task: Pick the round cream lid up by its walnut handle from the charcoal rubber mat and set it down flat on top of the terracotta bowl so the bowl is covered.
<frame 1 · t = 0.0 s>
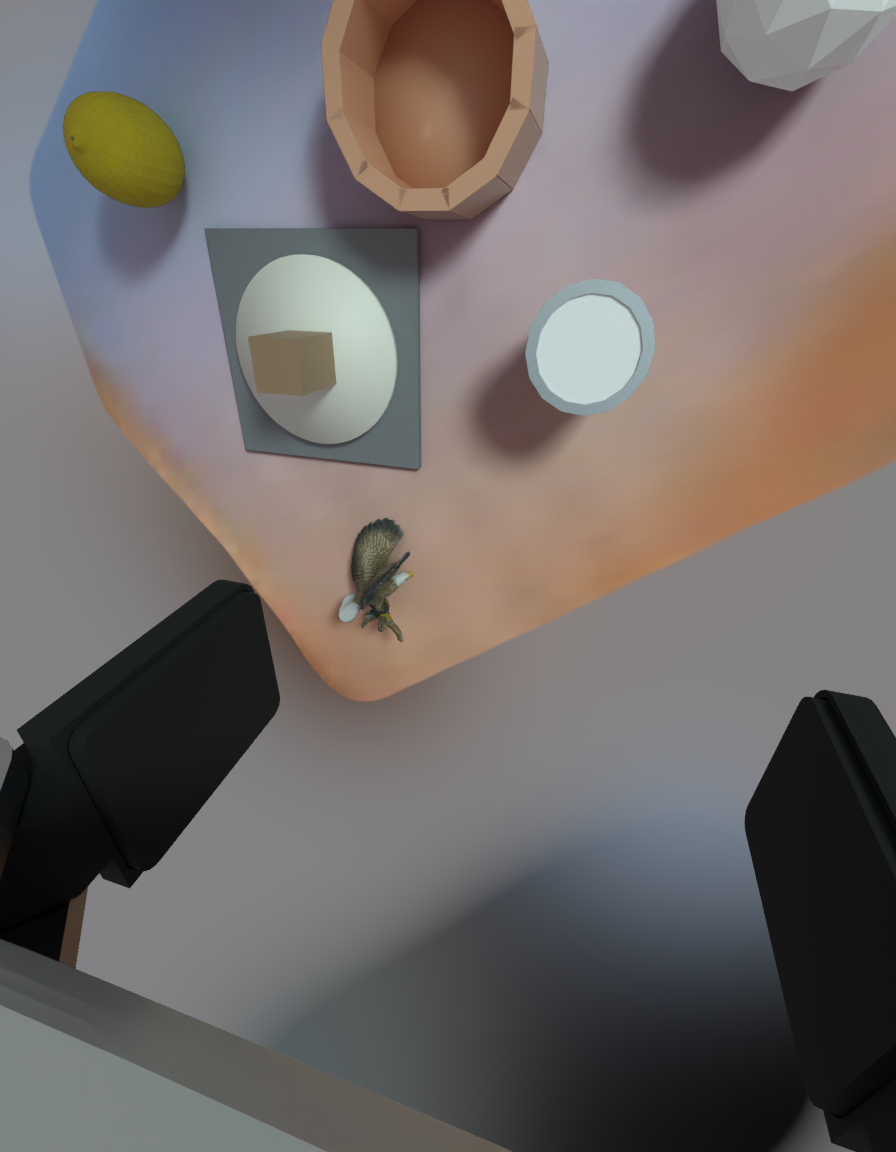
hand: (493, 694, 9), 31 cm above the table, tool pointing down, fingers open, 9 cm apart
eagle figurine: (392, 565, 47), on the table
bowl: (450, 104, 30), on the table
lid: (318, 355, 39), resting on mat
shot glass: (593, 338, 34), on the table
lemon: (177, 165, 36), on the table
geometric ball: (793, 2, 24), on the table
mat: (321, 355, 39), on the table
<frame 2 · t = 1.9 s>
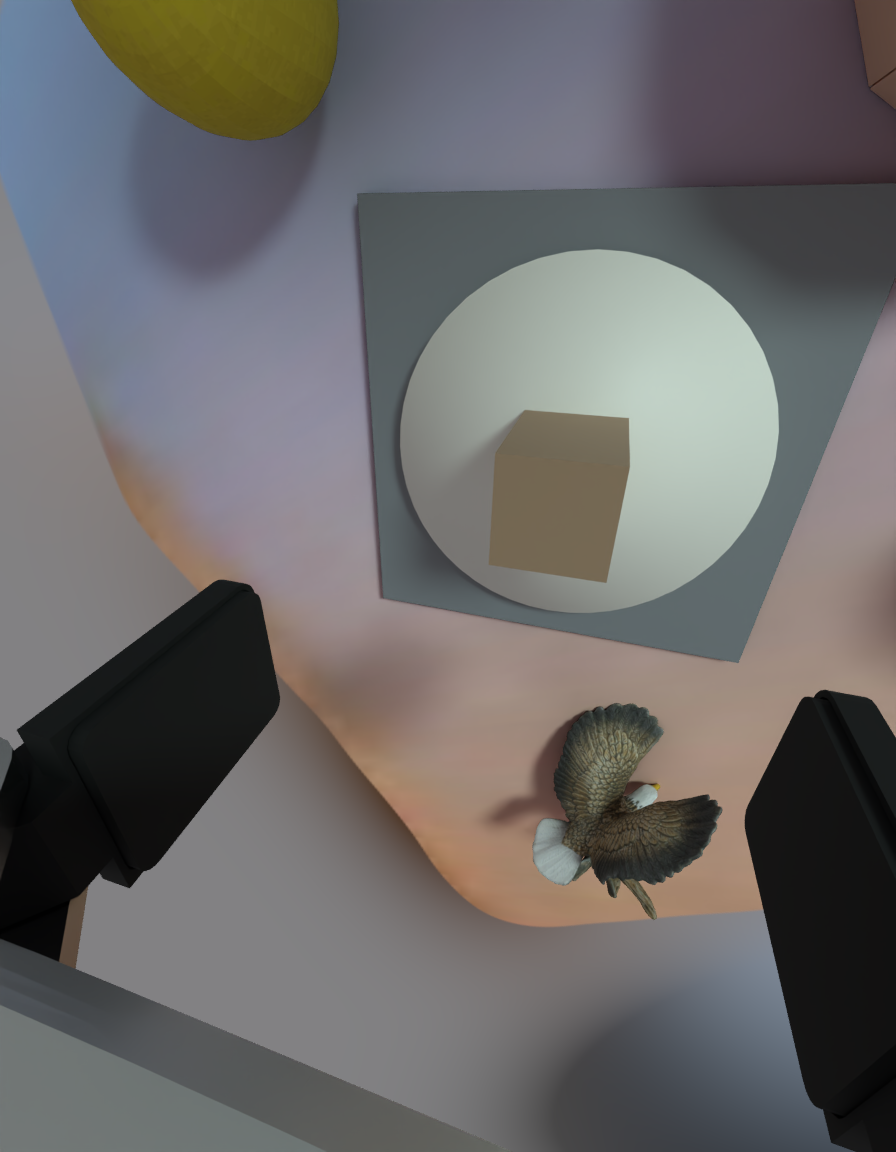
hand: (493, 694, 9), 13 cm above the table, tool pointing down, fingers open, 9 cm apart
eagle figurine: (619, 766, 27), on the table
lid: (570, 456, 19), resting on mat
lemon: (302, 49, 16), on the table
mat: (571, 452, 19), on the table
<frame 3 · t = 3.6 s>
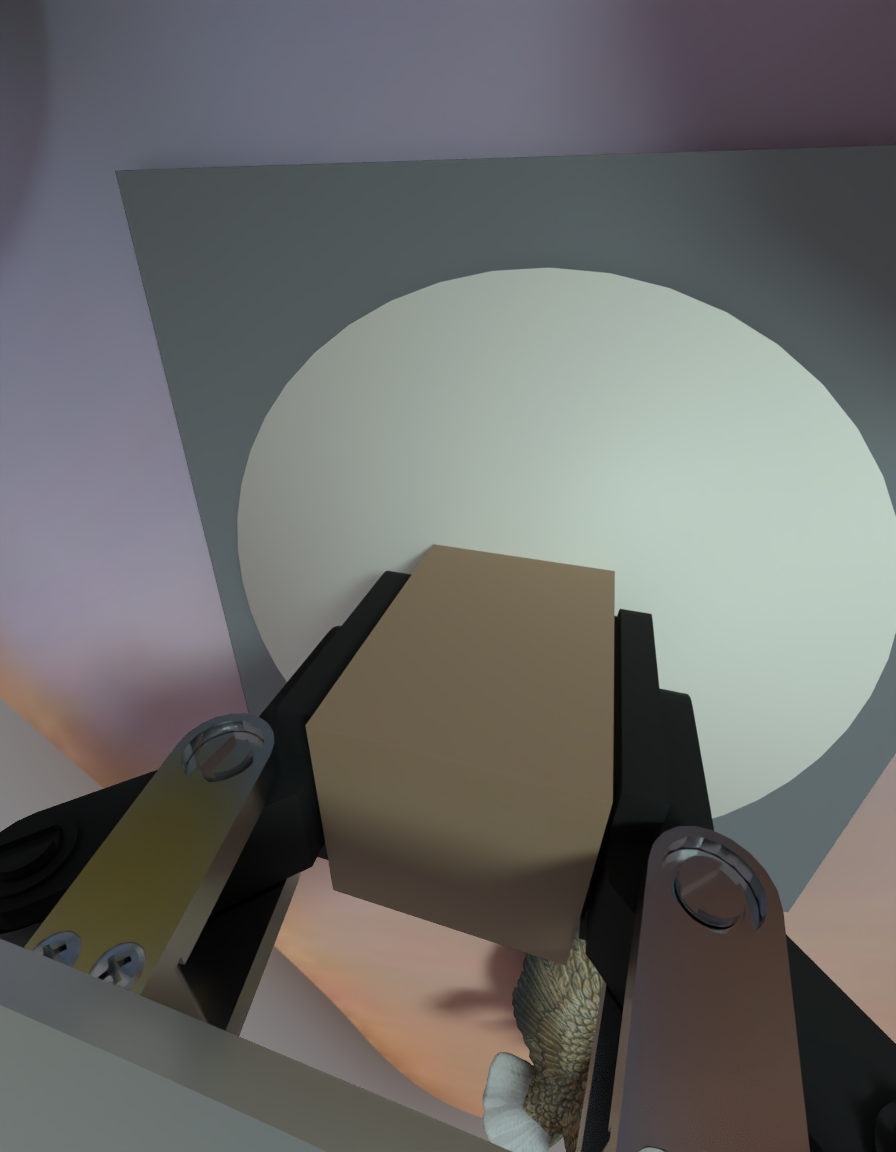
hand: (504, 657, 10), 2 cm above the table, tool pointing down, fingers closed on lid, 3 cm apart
eagle figurine: (607, 973, 19), on the table
lid: (518, 610, 11), point 1 cm above the table, touching gripper, mat
mat: (520, 601, 12), on the table
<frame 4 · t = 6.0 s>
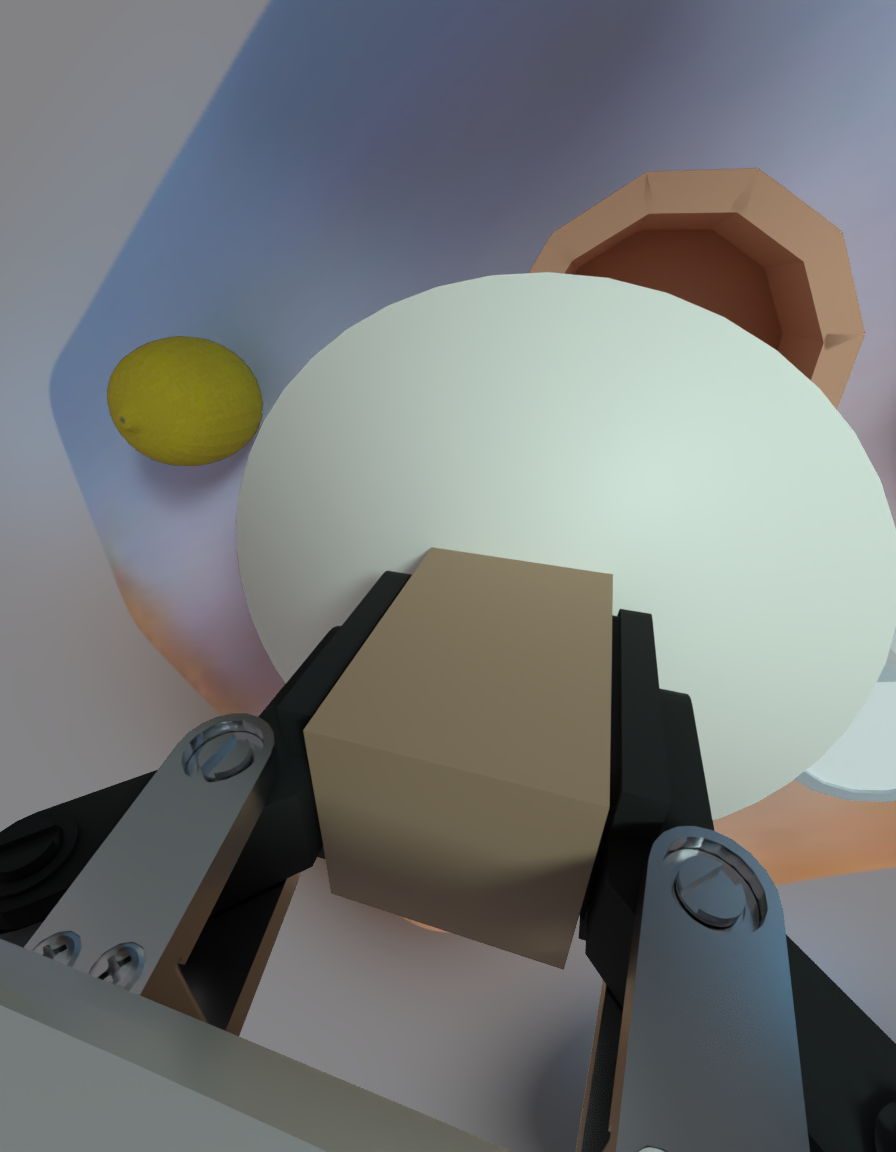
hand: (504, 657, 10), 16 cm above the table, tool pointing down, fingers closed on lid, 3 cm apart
bowl: (649, 360, 21), on the table
lid: (517, 613, 11), point 15 cm above the table, touching gripper
shot glass: (811, 632, 25), on the table
lemon: (246, 388, 27), on the table
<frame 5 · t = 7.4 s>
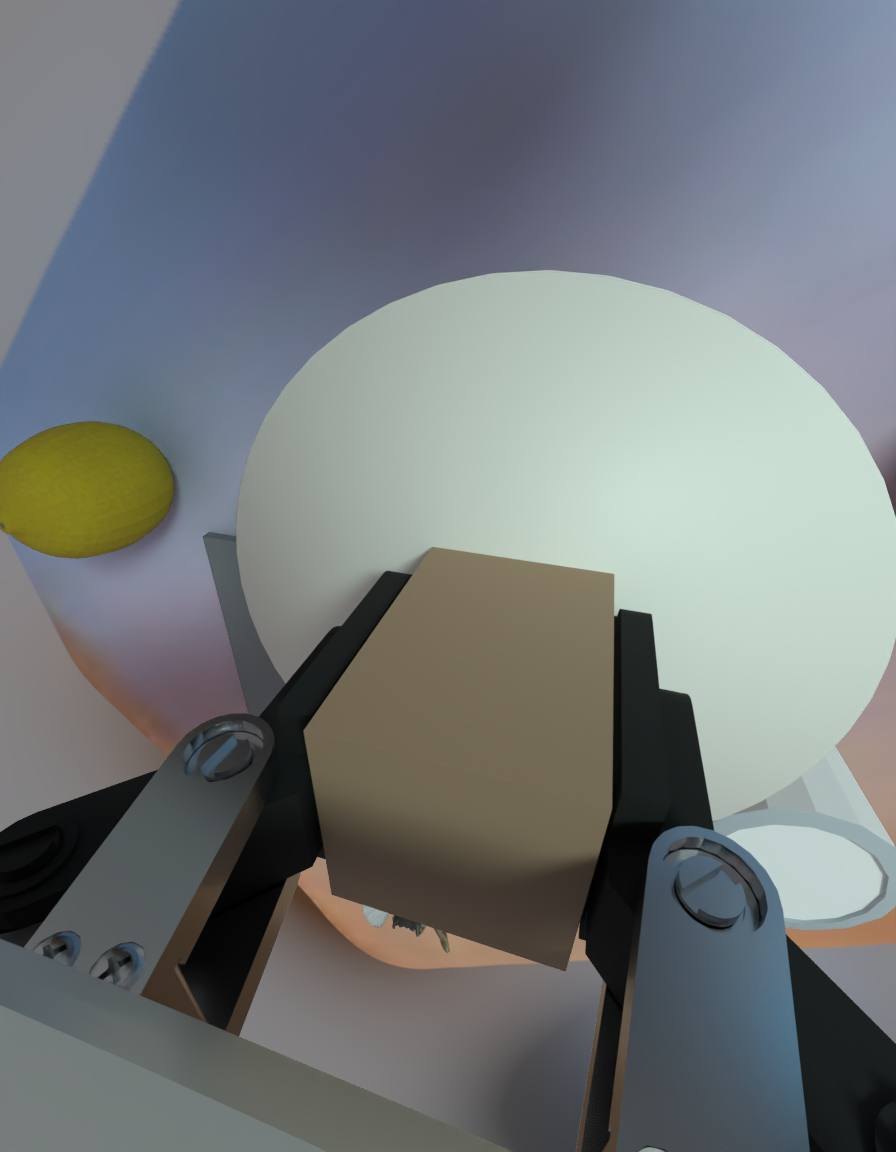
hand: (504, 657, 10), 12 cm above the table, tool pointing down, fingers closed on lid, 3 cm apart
eagle figurine: (430, 833, 36), on the table
lid: (518, 612, 11), point 11 cm above the table, touching gripper
shot glass: (748, 727, 24), on the table
lemon: (164, 459, 26), on the table
mat: (358, 676, 29), on the table
when the fingers open (8 cm above the table, at t = 8.4 s): lid drops 2 cm, resting on bowl.
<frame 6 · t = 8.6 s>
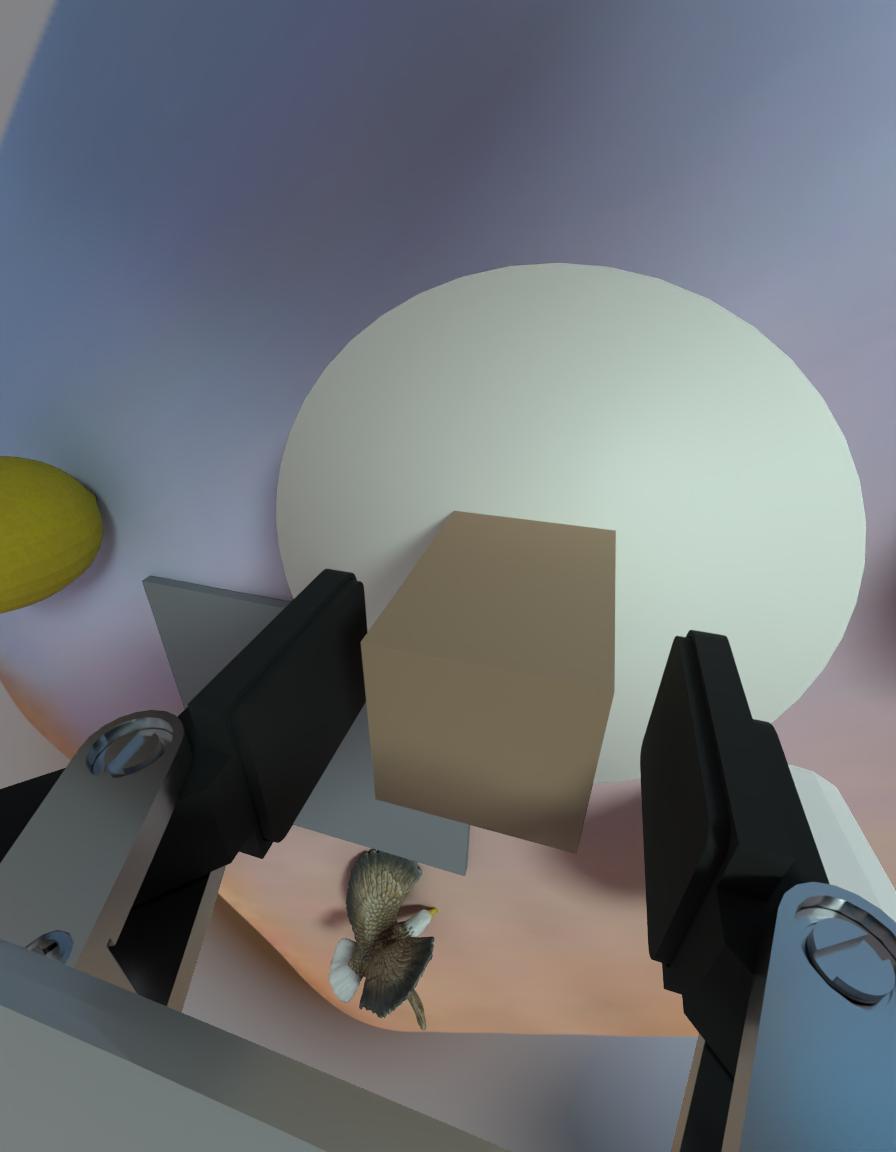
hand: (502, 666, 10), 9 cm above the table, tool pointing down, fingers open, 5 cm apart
eagle figurine: (406, 891, 32), on the table
lid: (529, 572, 13), point 5 cm above the table, touching bowl
shot glass: (762, 806, 21), on the table
lemon: (96, 495, 23), on the table
mat: (322, 733, 26), on the table
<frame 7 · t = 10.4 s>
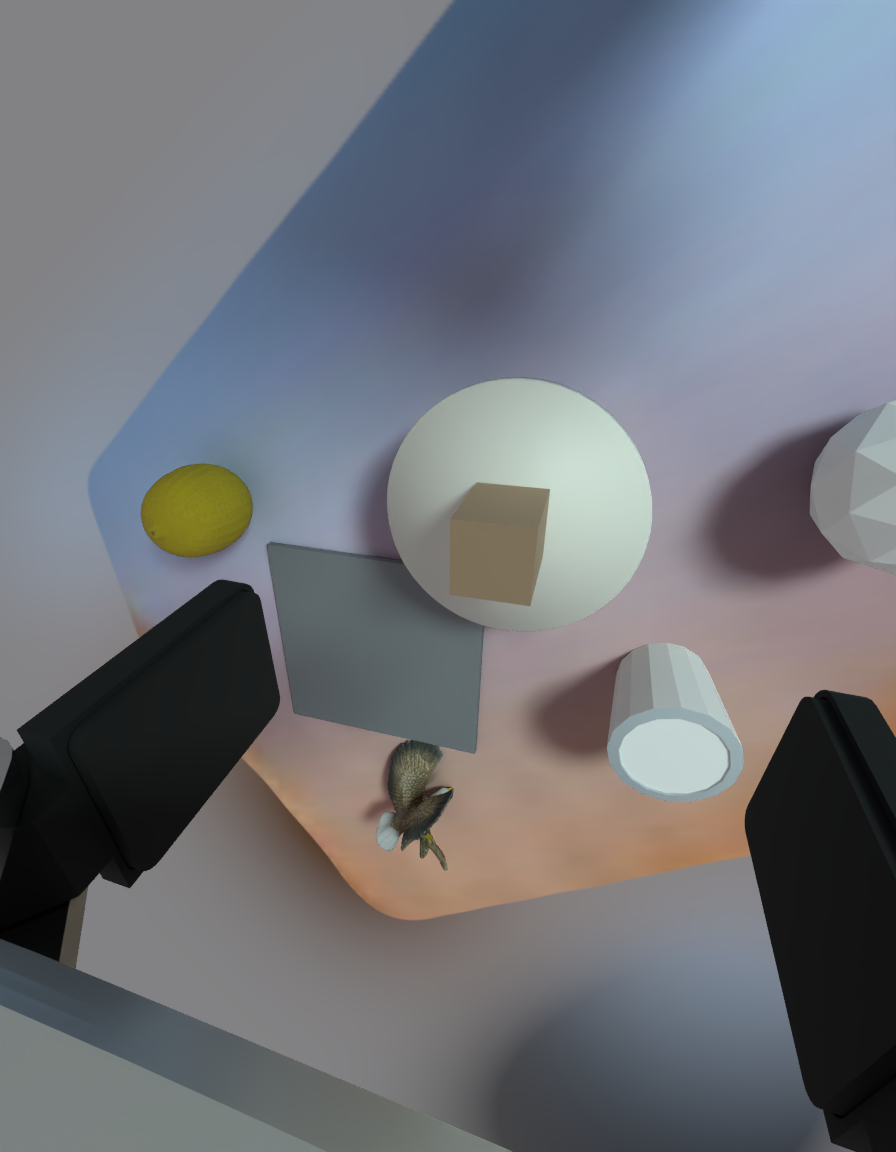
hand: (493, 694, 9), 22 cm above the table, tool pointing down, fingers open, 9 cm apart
eagle figurine: (430, 777, 44), on the table
lid: (513, 514, 26), point 5 cm above the table, touching bowl
shot glass: (661, 676, 34), on the table
lemon: (241, 489, 36), on the table
geometric ball: (877, 462, 25), on the table
mat: (378, 650, 39), on the table
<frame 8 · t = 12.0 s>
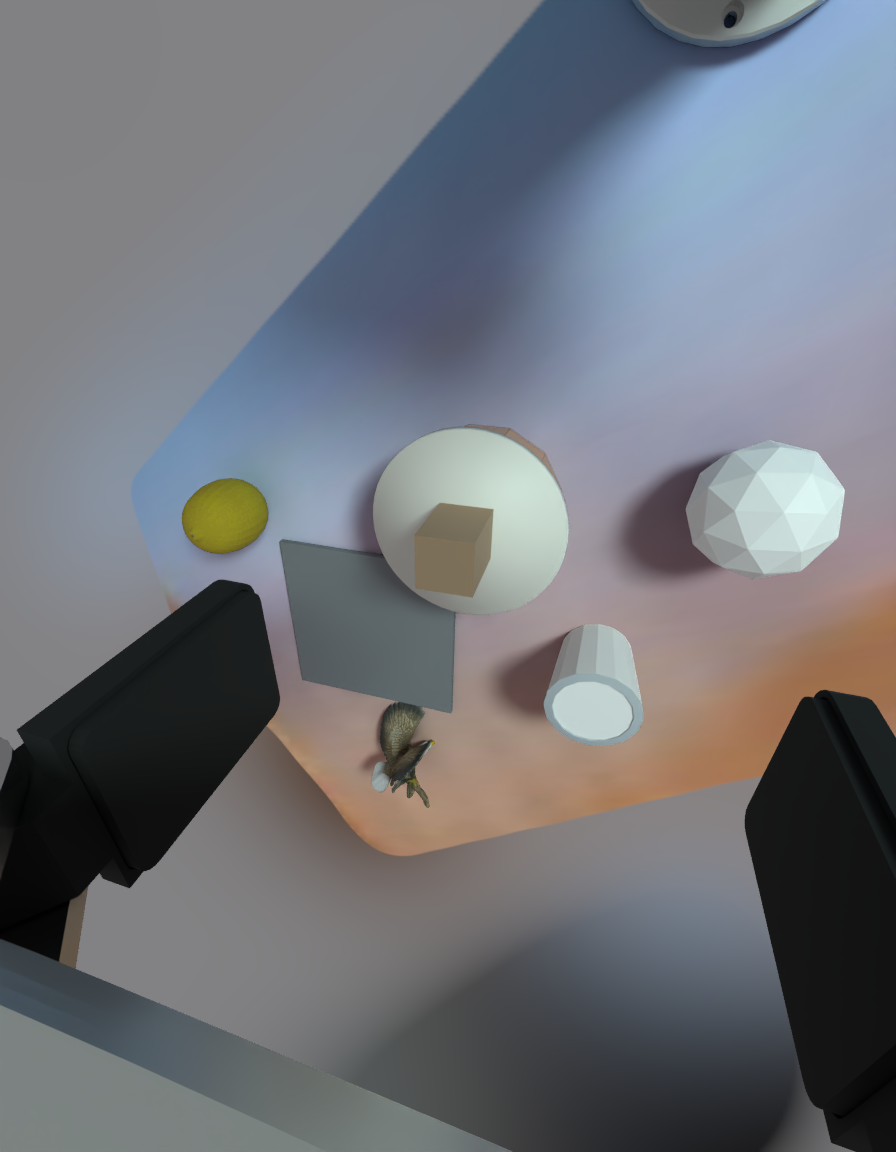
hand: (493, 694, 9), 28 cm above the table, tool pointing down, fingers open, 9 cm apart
eagle figurine: (415, 733, 53), on the table
bowl: (484, 500, 38), on the table
lid: (468, 525, 34), point 5 cm above the table, touching bowl
shot glass: (595, 650, 42), on the table
lemon: (258, 496, 44), on the table
geometric ball: (746, 487, 33), on the table
mat: (371, 628, 47), on the table
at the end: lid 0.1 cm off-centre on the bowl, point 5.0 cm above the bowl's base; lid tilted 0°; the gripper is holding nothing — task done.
